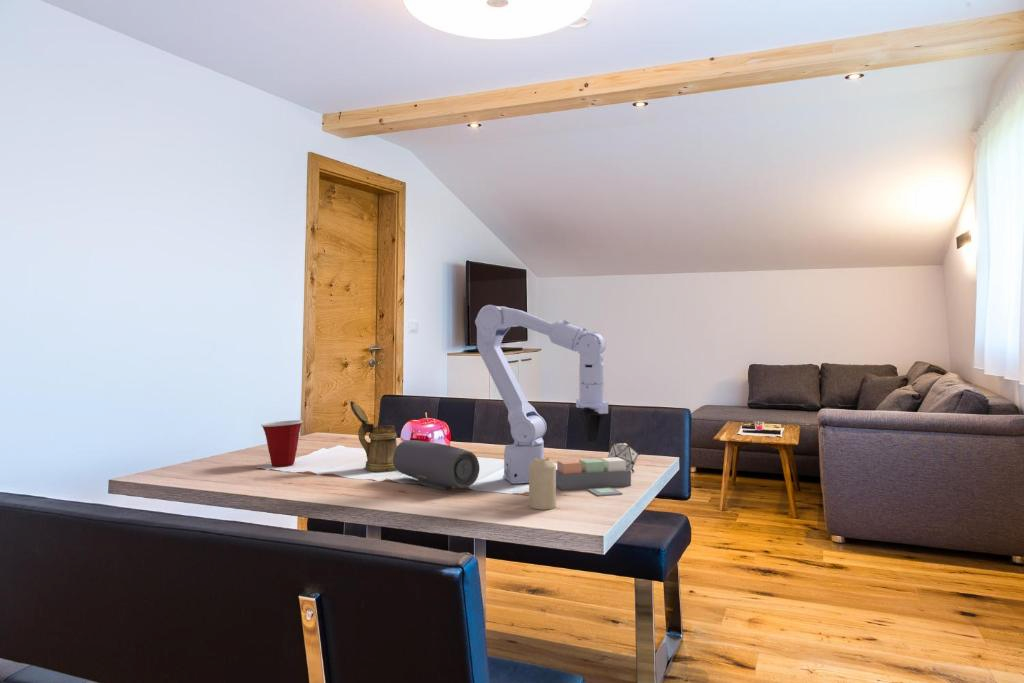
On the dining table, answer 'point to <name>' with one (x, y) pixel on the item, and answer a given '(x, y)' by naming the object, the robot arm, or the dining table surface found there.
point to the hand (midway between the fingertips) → (591, 441)
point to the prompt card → (604, 491)
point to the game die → (624, 454)
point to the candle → (542, 484)
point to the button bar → (593, 480)
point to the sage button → (592, 465)
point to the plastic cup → (282, 441)
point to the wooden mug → (376, 442)
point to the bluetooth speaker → (436, 464)
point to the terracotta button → (569, 467)
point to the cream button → (614, 464)
